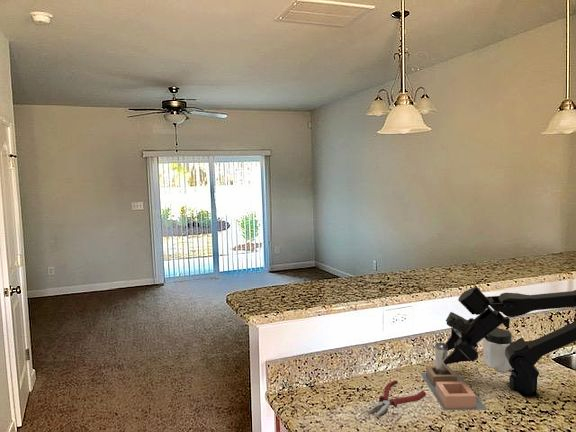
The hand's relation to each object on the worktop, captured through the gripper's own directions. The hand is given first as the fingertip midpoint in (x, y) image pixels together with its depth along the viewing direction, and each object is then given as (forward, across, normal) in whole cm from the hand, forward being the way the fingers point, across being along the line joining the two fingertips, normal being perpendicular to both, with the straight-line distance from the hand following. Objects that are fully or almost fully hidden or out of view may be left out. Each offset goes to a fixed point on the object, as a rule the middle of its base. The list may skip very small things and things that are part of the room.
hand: (443, 356), depth 136 cm
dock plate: (+5, +6, +8) cm, 10 cm away
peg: (+6, 0, +5) cm, 8 cm away
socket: (+4, +12, +7) cm, 14 cm away
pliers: (+18, +14, -4) cm, 23 cm away
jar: (-7, -16, +19) cm, 26 cm away
